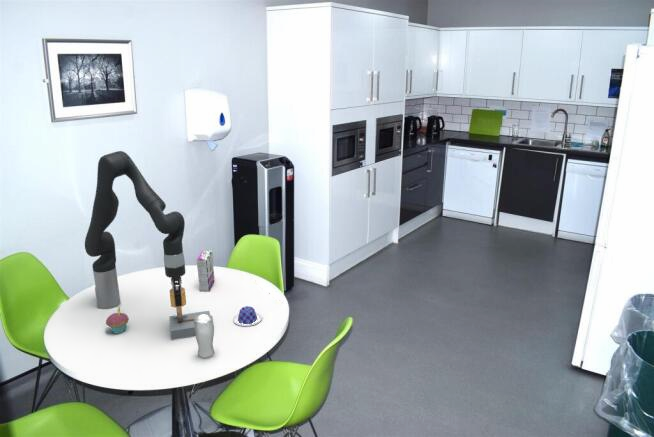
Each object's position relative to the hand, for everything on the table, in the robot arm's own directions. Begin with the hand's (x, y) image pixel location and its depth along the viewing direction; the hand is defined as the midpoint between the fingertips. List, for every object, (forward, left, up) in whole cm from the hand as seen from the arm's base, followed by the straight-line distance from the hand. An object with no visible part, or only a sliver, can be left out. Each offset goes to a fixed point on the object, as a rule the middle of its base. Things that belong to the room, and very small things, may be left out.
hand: (178, 302), depth 206 cm
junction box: (+4, 0, -13) cm, 13 cm away
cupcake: (-24, +8, -13) cm, 28 cm away
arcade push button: (0, 0, -1) cm, 1 cm away
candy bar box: (+14, +38, -13) cm, 43 cm away
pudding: (+27, +1, -13) cm, 30 cm away
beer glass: (+8, -20, -13) cm, 25 cm away
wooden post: (0, 0, -9) cm, 9 cm away
